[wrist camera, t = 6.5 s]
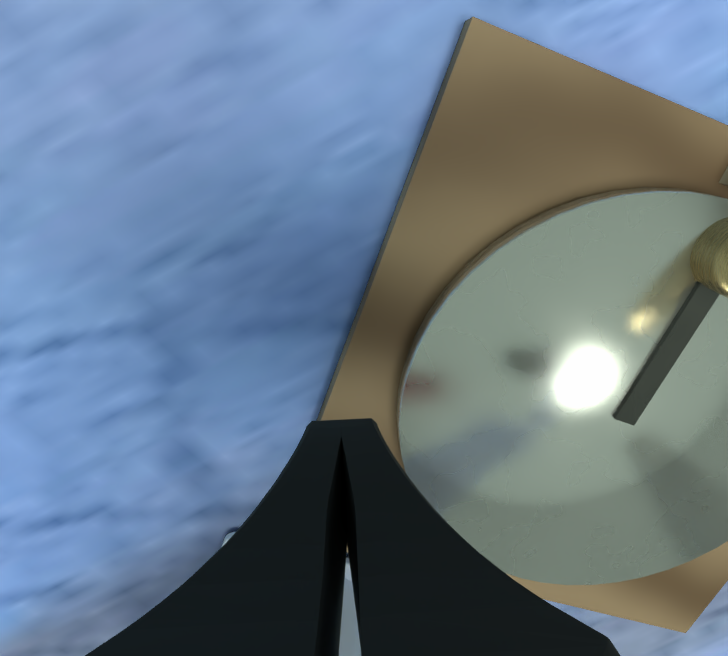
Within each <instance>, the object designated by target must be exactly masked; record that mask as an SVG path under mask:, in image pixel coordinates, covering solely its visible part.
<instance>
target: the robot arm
mask: <svg viewBox="0 0 728 656" xmlns="http://www.w3.org/2000/svg"><path fill="white" fill-rule="evenodd" d="M347 547H348V554H349V558H346V554H347ZM85 656H620V654H619V653H618V651H617V650H616V648H615V647H614V645H613V644H612V642H611V641H610V639H609V638H608V637H606V636H604V635H603V634H601V633H599V632H598V631H596V630H594V629H592V628H591V627H589V626H587V625H585V624H584V623H582V622H580V621H578V620H577V619H575V618H573V617H571V616H570V615H568V614H566V613H565V612H563V611H561V610H559V609H558V608H556V607H554V606H552V605H551V604H549V603H548V602H546V601H544V600H543V599H541V598H540V597H538V596H537V595H535V594H534V593H533V592H531V591H530V590H528V589H527V588H525V587H524V586H522V585H521V584H519V583H518V582H516V581H515V580H513V579H512V578H511V577H509V576H508V575H507V574H506V573H504V572H503V571H502V570H501V569H499V568H498V567H497V566H496V565H494V564H493V563H492V562H490V561H489V560H488V559H487V558H485V557H484V556H483V555H482V554H480V553H479V552H478V551H477V550H476V549H475V548H474V547H472V546H471V545H470V544H469V543H468V542H467V541H466V540H465V539H464V538H463V537H461V536H460V535H459V534H458V533H457V532H456V531H455V530H454V529H453V528H452V527H451V526H450V525H449V524H448V523H447V522H446V521H445V520H444V519H443V518H442V517H441V515H440V514H439V513H438V512H437V511H436V510H435V509H434V508H433V507H432V505H431V504H430V503H429V502H428V501H427V500H426V498H425V497H424V496H423V495H422V494H421V492H420V491H419V490H418V489H417V487H416V486H415V485H414V484H413V482H412V481H411V480H410V478H409V477H408V475H407V474H406V473H405V471H404V470H403V468H402V467H401V466H400V464H399V463H398V461H397V460H396V458H395V457H394V455H393V454H392V452H391V450H390V449H389V447H388V445H387V444H386V442H385V440H384V438H383V436H382V434H381V432H380V430H379V428H378V425H377V423H376V422H375V421H374V420H373V419H372V418H363V419H343V420H322V421H312V422H311V423H310V424H309V425H308V426H307V427H306V430H305V432H304V434H303V436H302V438H301V440H300V442H299V444H298V446H297V448H296V449H295V451H294V453H293V455H292V456H291V458H290V460H289V461H288V463H287V464H286V466H285V468H284V469H283V471H282V472H281V474H280V475H279V477H278V479H277V480H276V482H275V483H274V484H273V486H272V487H271V489H270V490H269V491H268V493H267V494H266V495H265V497H264V498H263V499H262V501H261V502H260V503H259V505H258V506H257V507H256V509H255V510H254V511H253V512H252V514H251V515H250V516H249V517H248V519H247V520H246V521H245V522H244V523H243V524H242V526H241V527H240V528H239V529H238V530H237V531H236V532H231V533H229V534H227V535H226V537H225V538H224V541H223V544H222V547H221V549H220V550H219V551H218V552H217V553H215V554H214V555H213V556H212V557H211V558H210V559H209V560H208V561H207V562H206V563H205V564H204V565H203V566H202V567H201V568H200V569H199V570H198V571H197V572H196V573H195V574H194V575H193V576H192V577H190V578H189V579H188V580H187V581H186V582H185V583H184V584H183V585H181V586H180V587H179V588H178V589H177V590H175V591H174V592H173V593H172V594H170V595H169V596H168V597H167V598H166V599H164V600H163V601H162V602H161V603H159V604H158V605H157V606H155V607H154V608H153V609H151V610H150V611H149V612H147V613H146V614H145V615H144V616H142V617H141V618H140V619H138V620H137V621H136V622H134V623H133V624H131V625H130V626H129V627H127V628H126V629H124V630H123V631H122V632H120V633H119V634H117V635H116V636H114V637H112V638H111V639H109V640H108V641H106V642H105V643H103V644H102V645H100V646H99V647H97V648H96V649H94V650H93V651H91V652H90V653H88V654H87V655H85Z"/></svg>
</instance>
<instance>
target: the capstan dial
mask: <svg viewBox="0 0 728 656" xmlns="http://www.w3.org/2000/svg"><path fill="white" fill-rule="evenodd" d="M397 427H398V439H399V445H400V450H401V456H402V460H403V464H404V468H405V472H406V474H407V475H408V477H409V478H410V480H411V481H412V482H413V484H414V485H415V486H416V487H417V489H418V490H419V491H420V492H421V494H422V495H423V496H424V497H425V498H426V500H427V501H428V502H429V503H430V504H431V505H432V507H433V508H434V509H435V510H436V511H437V512H438V513H439V514H440V515H441V517H442V518H443V519H444V520H445V521H446V522H447V523H448V524H449V525H450V526H451V527H452V528H453V529H454V530H455V531H456V532H457V533H458V534H459V535H460V536H461V537H463V538H464V539H465V540H466V541H467V542H468V543H469V544H470V545H471V546H472V547H474V548H475V549H476V550H477V551H478V552H479V553H480V554H482V555H483V556H484V557H485V558H487V559H488V560H489V561H490V562H492V563H493V564H494V565H496V566H497V567H498V568H499V569H501V570H502V571H503V572H504V573H506V574H509V575H512V576H516V577H519V578H522V579H527V580H532V581H537V582H542V583H550V584H561V585H597V584H606V583H616V582H622V581H627V580H631V579H636V578H641V577H645V576H649V575H652V574H655V573H659V572H662V571H665V570H669V569H671V568H674V567H676V566H679V565H681V564H684V563H686V562H689V561H691V560H693V559H695V558H697V557H699V556H701V555H703V554H705V553H707V552H709V551H711V550H713V549H715V548H717V547H719V546H720V545H722V544H724V543H725V542H727V541H728V199H726V198H722V197H718V196H714V195H710V194H706V193H700V192H695V191H689V190H683V189H678V188H649V187H644V188H634V189H625V190H615V191H609V192H605V193H601V194H597V195H592V196H588V197H584V198H580V199H577V200H574V201H572V202H569V203H566V204H564V205H561V206H558V207H555V208H553V209H550V210H548V211H546V212H544V213H542V214H540V215H538V216H536V217H534V218H532V219H530V220H528V221H526V222H524V223H522V224H520V225H518V226H517V227H515V228H514V229H512V230H511V231H509V232H508V233H506V234H505V235H503V236H502V237H500V238H499V239H497V240H496V241H495V242H493V243H492V244H490V245H489V246H488V247H487V248H486V249H484V250H483V251H482V252H481V253H480V254H479V255H477V256H476V257H475V258H474V259H473V260H472V261H470V262H469V263H468V264H467V265H466V266H465V267H464V268H463V269H462V270H461V271H460V272H459V273H458V275H457V276H456V277H455V278H454V279H453V280H452V281H451V282H450V283H449V284H448V285H447V287H446V288H445V289H444V290H443V292H442V293H441V294H440V296H439V297H438V299H437V300H436V301H435V303H434V304H433V306H432V307H431V309H430V310H429V311H428V313H427V314H426V316H425V318H424V320H423V322H422V324H421V326H420V328H419V329H418V331H417V333H416V335H415V337H414V339H413V341H412V344H411V347H410V350H409V352H408V355H407V358H406V360H405V363H404V366H403V371H402V376H401V380H400V385H399V389H398V401H397Z"/></svg>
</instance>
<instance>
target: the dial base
mask: <svg viewBox="0 0 728 656" xmlns="http://www.w3.org/2000/svg"><path fill="white" fill-rule="evenodd" d="M644 187H649V188H678V189H683V190H689V191H695V192H700V193H706V194H710V195H714V196H718V197H722V198H726V199H728V125H725V124H723V123H721V122H718V121H716V120H714V119H711V118H709V117H707V116H704V115H702V114H700V113H697V112H695V111H693V110H690V109H688V108H686V107H683V106H681V105H679V104H676V103H674V102H672V101H669V100H667V99H665V98H662V97H660V96H658V95H655V94H653V93H650V92H648V91H646V90H643V89H641V88H639V87H636V86H634V85H632V84H629V83H627V82H625V81H622V80H620V79H618V78H615V77H613V76H611V75H608V74H606V73H604V72H601V71H599V70H597V69H594V68H592V67H590V66H587V65H585V64H582V63H580V62H578V61H575V60H573V59H571V58H568V57H566V56H564V55H561V54H559V53H557V52H554V51H552V50H550V49H547V48H545V47H543V46H540V45H538V44H536V43H533V42H531V41H529V40H526V39H524V38H522V37H519V36H517V35H515V34H512V33H510V32H507V31H505V30H503V29H500V28H498V27H496V26H493V25H491V24H489V23H486V22H484V21H482V20H479V19H477V18H475V17H472V18H470V19H468V20H467V21H465V24H464V26H463V29H462V32H461V34H460V37H459V40H458V42H457V45H456V48H455V50H454V53H453V56H452V58H451V61H450V64H449V67H448V69H447V72H446V75H445V77H444V80H443V83H442V85H441V88H440V91H439V93H438V96H437V99H436V101H435V104H434V107H433V109H432V112H431V115H430V117H429V120H428V123H427V126H426V128H425V131H424V134H423V136H422V139H421V142H420V144H419V147H418V150H417V152H416V155H415V158H414V160H413V163H412V166H411V168H410V171H409V174H408V177H407V179H406V182H405V185H404V187H403V190H402V193H401V195H400V198H399V201H398V203H397V206H396V209H395V211H394V214H393V217H392V219H391V222H390V225H389V227H388V230H387V233H386V236H385V238H384V241H383V244H382V246H381V249H380V252H379V254H378V257H377V260H376V262H375V265H374V268H373V270H372V273H371V276H370V278H369V281H368V284H367V287H366V289H365V292H364V295H363V297H362V300H361V303H360V305H359V308H358V311H357V313H356V316H355V319H354V321H353V324H352V327H351V329H350V332H349V335H348V337H347V340H346V343H345V346H344V348H343V351H342V354H341V356H340V359H339V362H338V364H337V367H336V370H335V372H334V375H333V378H332V380H331V383H330V386H329V388H328V391H327V394H326V396H325V399H324V402H323V405H322V407H321V410H320V413H319V415H318V418H317V421H322V420H343V419H363V418H372V419H373V420H374V421H375V422H376V423H377V425H378V428H379V430H380V432H381V434H382V436H383V438H384V440H385V442H386V444H387V445H388V447H389V449H390V450H391V452H392V454H393V455H394V457H395V458H396V460H397V461H398V463H399V464H400V466H401V467H402V468H403V470H404V471H405V468H404V464H403V460H402V456H401V450H400V445H399V439H398V427H397V401H398V389H399V385H400V380H401V376H402V371H403V366H404V363H405V360H406V358H407V355H408V352H409V350H410V347H411V344H412V341H413V339H414V337H415V335H416V333H417V331H418V329H419V328H420V326H421V324H422V322H423V320H424V318H425V316H426V314H427V313H428V311H429V310H430V309H431V307H432V306H433V304H434V303H435V301H436V300H437V299H438V297H439V296H440V294H441V293H442V292H443V290H444V289H445V288H446V287H447V285H448V284H449V283H450V282H451V281H452V280H453V279H454V278H455V277H456V276H457V275H458V273H459V272H460V271H461V270H462V269H463V268H464V267H465V266H466V265H467V264H468V263H469V262H470V261H472V260H473V259H474V258H475V257H476V256H477V255H479V254H480V253H481V252H482V251H483V250H484V249H486V248H487V247H488V246H489V245H490V244H492V243H493V242H495V241H496V240H497V239H499V238H500V237H502V236H503V235H505V234H506V233H508V232H509V231H511V230H512V229H514V228H515V227H517V226H518V225H520V224H522V223H524V222H526V221H528V220H530V219H532V218H534V217H536V216H538V215H540V214H542V213H544V212H546V211H548V210H550V209H553V208H555V207H558V206H561V205H564V204H566V203H569V202H572V201H574V200H577V199H580V198H584V197H588V196H592V195H597V194H601V193H605V192H609V191H615V190H625V189H634V188H644ZM405 473H406V472H405ZM347 552H348V547H347ZM507 575H508V576H509V577H511V578H512V579H513V580H515V581H516V582H518V583H519V584H521V585H522V586H524V587H525V588H527V589H528V590H530V591H531V592H533V593H534V594H535V595H537V596H538V597H540V598H541V599H545V600H549V601H553V602H558V603H562V604H566V605H570V606H574V607H579V608H583V609H587V610H591V611H595V612H600V613H604V614H608V615H612V616H616V617H621V618H625V619H629V620H633V621H637V622H642V623H646V624H650V625H654V626H658V627H663V628H667V629H671V630H675V631H679V632H683V633H686V632H687V631H688V630H689V628H690V627H691V626H692V625H693V623H694V622H695V621H696V619H697V618H698V617H699V616H700V614H701V613H702V612H703V611H704V609H705V608H706V607H707V606H708V604H709V603H710V602H711V601H712V599H713V598H714V597H715V596H716V594H717V593H718V592H719V590H720V589H721V588H722V587H723V585H724V584H725V583H726V582H727V580H728V541H727V542H725V543H724V544H722V545H720V546H719V547H717V548H715V549H713V550H711V551H709V552H707V553H705V554H703V555H701V556H699V557H697V558H695V559H693V560H691V561H689V562H686V563H684V564H681V565H679V566H676V567H674V568H671V569H669V570H665V571H662V572H659V573H655V574H652V575H649V576H645V577H641V578H636V579H631V580H627V581H622V582H616V583H606V584H597V585H561V584H550V583H542V582H537V581H532V580H527V579H522V578H519V577H516V576H512V575H509V574H507Z"/></svg>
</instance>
